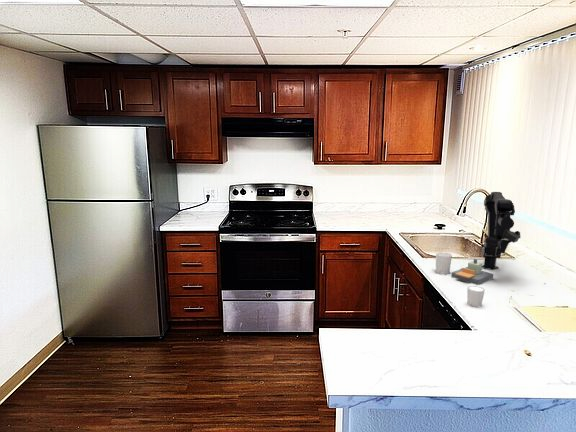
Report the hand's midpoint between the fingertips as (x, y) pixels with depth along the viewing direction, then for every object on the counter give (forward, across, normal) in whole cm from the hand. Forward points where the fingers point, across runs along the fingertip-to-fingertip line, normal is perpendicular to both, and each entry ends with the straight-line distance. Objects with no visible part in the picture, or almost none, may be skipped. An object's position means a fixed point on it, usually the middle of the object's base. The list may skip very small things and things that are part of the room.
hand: (498, 254), depth 205 cm
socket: (+12, -10, +7) cm, 17 cm away
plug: (+12, -9, +7) cm, 16 cm away
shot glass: (+12, -41, -11) cm, 44 cm away
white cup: (+12, -15, +21) cm, 29 cm away
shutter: (+9, -17, +7) cm, 21 cm away
